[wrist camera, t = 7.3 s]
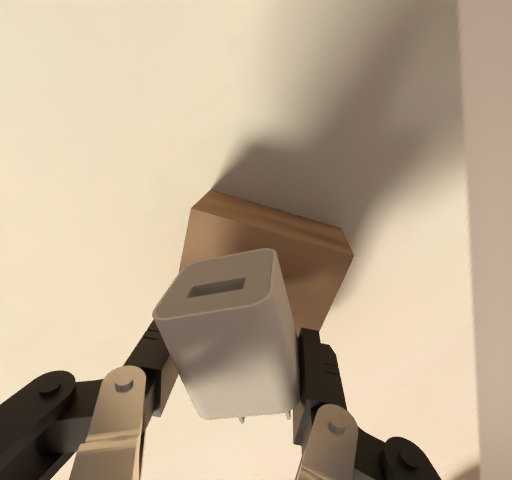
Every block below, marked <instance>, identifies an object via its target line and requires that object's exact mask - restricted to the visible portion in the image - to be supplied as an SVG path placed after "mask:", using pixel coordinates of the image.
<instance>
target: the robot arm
mask: <svg viewBox="0 0 512 480" xmlns="http://www.w3.org/2000/svg"><path fill="white" fill-rule="evenodd" d="M298 343H299V364H300V385H301V396H300V401H299V403H298V404H297V405H296V406H295V407H294V408H293V443H294V444H295V445H300V446H302V458H301V461H300V464H299V467H298V471H297V474H296V477H295V480H441V478H440V477H439V475H438V474H437V472H436V470H435V469H434V467H433V466H432V464H431V462H430V461H429V459H428V458H427V456H426V455H425V454H424V452H423V451H422V450H421V449H420V448H419V447H418V446H416V445H415V444H414V443H412V442H411V441H409V440H407V439H405V438H402V437H391V438H389V439H388V440H387V441H386V443H385V442H383V441H381V440H379V439H377V438H375V437H373V436H371V435H369V434H367V433H366V432H364V431H363V430H361V429H360V428H359V427H358V426H357V423H356V421H355V419H354V418H353V416H352V415H351V414H350V413H349V412H348V411H347V407H346V402H345V397H344V392H343V387H342V382H341V377H340V373H339V368H338V363H337V358H336V354H335V353H334V351H333V350H332V348H331V347H330V345H327V344H322V343H320V336H319V331H318V330H313V329H308V328H301V329H300V332H299V336H298ZM178 374H179V373H178V371H177V369H176V366H175V364H174V362H173V360H172V358H171V355H170V353H169V351H168V349H167V347H166V344H165V342H164V340H163V338H162V336H161V334H160V331H159V329H158V327H157V325H156V323H155V320H153V321H152V323H151V324H150V326H149V327H148V329H147V331H146V332H145V333H144V335H143V337H142V338H141V340H140V341H139V343H138V344H137V346H136V347H135V349H134V350H133V352H132V353H131V355H130V356H129V358H128V359H127V361H126V362H125V364H124V365H123V366H122V367H119V368H116V369H114V370H113V371H111V372H110V373H108V374H107V375H106V377H105V378H104V379H100V380H94V381H84V382H75V378H74V376H73V375H72V374H71V373H69V372H67V371H52V372H49V373H46V374H43V375H41V376H39V377H37V378H36V379H34V380H33V381H32V382H30V383H29V384H28V385H26V386H25V387H24V388H22V389H21V390H19V391H18V392H17V393H15V394H14V395H13V396H11V397H10V398H9V399H7V400H6V401H5V402H3V403H2V404H1V405H0V480H50V479H51V478H52V477H53V476H54V475H55V474H56V473H57V472H58V471H59V469H60V468H61V467H62V466H63V465H64V464H65V463H66V462H67V461H68V460H69V459H70V457H71V456H72V455H73V454H74V453H75V452H76V451H77V454H76V457H75V461H74V464H73V468H72V471H71V474H70V478H69V480H141V477H142V467H143V457H144V447H145V437H146V428H147V426H148V423H149V421H150V419H151V417H152V416H156V417H161V414H162V412H163V410H164V407H165V405H166V402H167V400H168V398H169V395H170V393H171V391H172V388H173V386H174V383H175V381H176V379H177V376H178Z"/></svg>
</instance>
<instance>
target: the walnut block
mask: <svg viewBox="0 0 512 480" xmlns="http://www.w3.org/2000/svg"><path fill="white" fill-rule="evenodd" d="M262 248H270V249H274V250H275V251H276V253H277V257H278V261H279V265H280V269H281V273H282V277H283V281H284V284H285V288H286V292H287V296H288V300H289V304H290V308H291V312H292V316H293V320H294V324H295V328H296V332H297V336H299V332H300V329H301V328H308V329H313V330H318V331H320V329H321V327H322V324H323V322H324V320H325V318H326V316H327V314H328V311H329V309H330V307H331V305H332V303H333V300H334V298H335V296H336V294H337V292H338V290H339V287H340V285H341V283H342V281H343V279H344V277H345V274H346V272H347V270H348V268H349V266H350V263H351V261H352V259H353V257H354V255H353V253H352V251H351V249H350V246H349V244H348V242H347V240H346V238H345V236H344V234H343V232H342V230H341V228H338V227H334V226H331V225H327V224H324V223H321V222H317V221H314V220H310V219H307V218H303V217H300V216H297V215H293V214H290V213H286V212H283V211H280V210H276V209H273V208H269V207H266V206H263V205H259V204H256V203H252V202H249V201H246V200H242V199H239V198H235V197H232V196H229V195H225V194H222V193H218V192H215V191H212V190H210V191H209V192H208V193H207V194H206V195H204V196H203V197H202V198H201V199H200V200H199V201H198V202H197V203H196V204H195V205H194V206H193V207H192V208H191V212H190V217H189V222H188V227H187V232H186V238H185V243H184V248H183V253H182V259H181V264H180V269H179V272H180V271H181V270H182V269H183V268H184V267H186V266H188V265H189V264H191V263H194V262H197V261H200V260H205V259H210V258H215V257H221V256H226V255H231V254H236V253H241V252H246V251H251V250H257V249H262Z"/></svg>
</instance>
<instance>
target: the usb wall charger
mask: <svg viewBox="0 0 512 480" xmlns="http://www.w3.org/2000/svg"><path fill="white" fill-rule="evenodd" d="M152 316H153V318H154V320H155V323H156V325H157V327H158V329H159V331H160V334H161V336H162V338H163V340H164V342H165V344H166V347H167V349H168V351H169V353H170V355H171V358H172V360H173V362H174V364H175V366H176V369H177V371H178V373H179V375H180V377H181V379H182V382H183V384H184V386H185V388H186V390H187V393H188V395H189V397H190V399H191V401H192V404H193V406H194V408H195V410H196V412H197V414H198V416H199V417H201V418H203V419H206V420H212V419H223V418H234V417H238V418H239V420H240V422H241V423H242V424H243V423H244V418H245V417H246V416H257V415H269V414H280V413H285V414H286V416H287V419H288V420H290V410H292V409H293V408H294V407H295V406H296V405H297V404H298V403H299V401H300V396H301V385H300V364H299V343H298V336H297V332H296V328H295V324H294V320H293V316H292V312H291V308H290V304H289V300H288V296H287V292H286V288H285V284H284V281H283V277H282V273H281V269H280V265H279V261H278V257H277V253H276V251H275V250H274V249H270V248H262V249H257V250H251V251H246V252H241V253H236V254H231V255H226V256H221V257H215V258H210V259H205V260H200V261H197V262H194V263H191V264H189V265H188V266H186V267H184V268H183V269H182V270H181V271H180V272H179V274H178V275H177V277H176V278H175V280H174V281H173V282H172V284H171V285H170V287H169V288H168V290H167V291H166V293H165V294H164V295H163V297H162V298H161V300H160V301H159V303H158V304H157V306H156V307H155V309H154V310H153V313H152Z"/></svg>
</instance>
